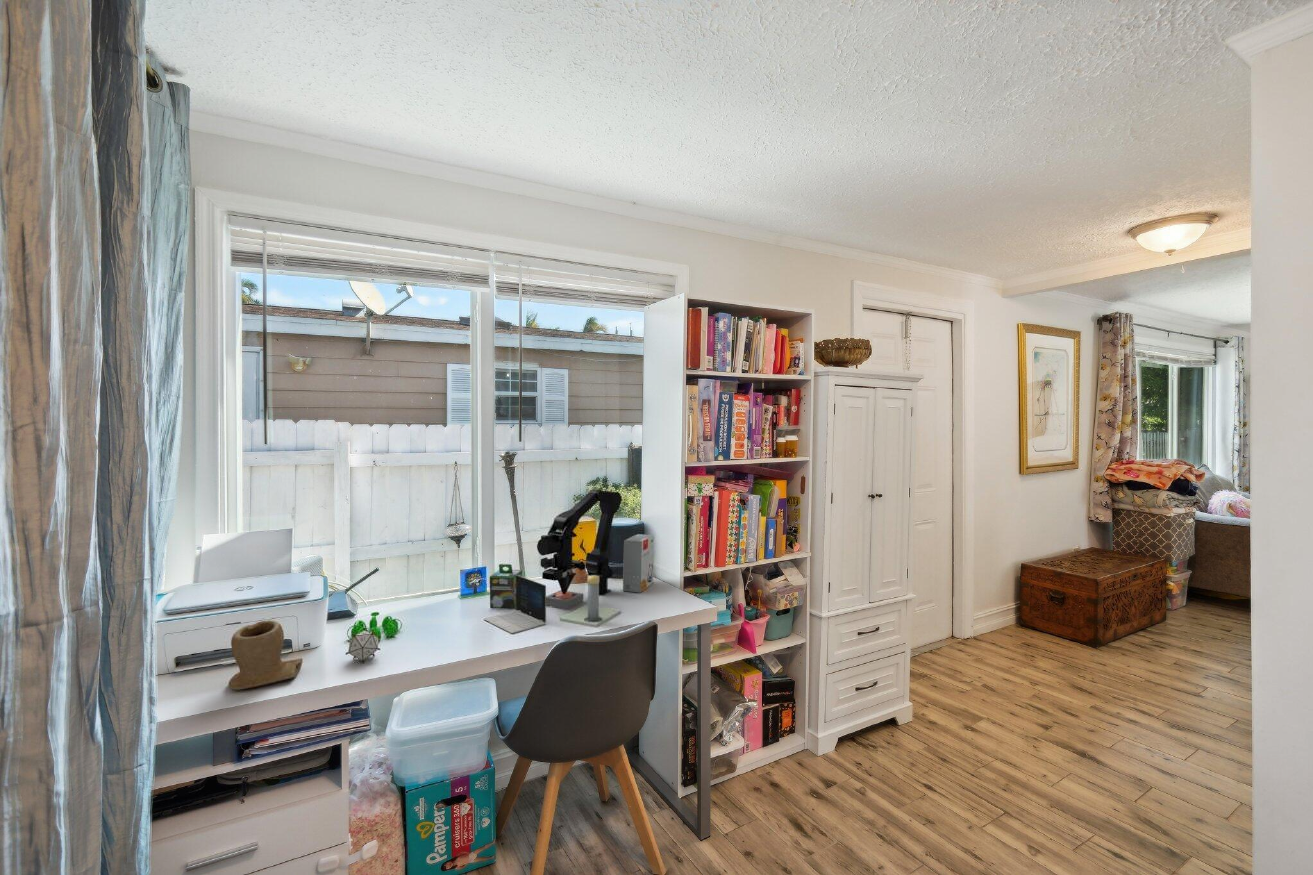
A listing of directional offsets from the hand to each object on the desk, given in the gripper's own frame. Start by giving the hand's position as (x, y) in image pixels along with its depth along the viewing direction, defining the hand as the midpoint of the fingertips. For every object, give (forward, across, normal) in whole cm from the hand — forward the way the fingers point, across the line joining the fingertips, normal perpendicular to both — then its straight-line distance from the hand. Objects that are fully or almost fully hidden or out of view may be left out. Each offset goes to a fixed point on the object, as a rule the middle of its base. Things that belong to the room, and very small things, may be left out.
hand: (564, 593), depth 203 cm
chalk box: (+4, +10, -18) cm, 21 cm away
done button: (+2, 0, 0) cm, 2 cm away
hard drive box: (+4, -31, +14) cm, 34 cm away
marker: (+3, +11, +20) cm, 23 cm away
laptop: (+4, +23, -3) cm, 24 cm away
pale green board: (+4, +7, +16) cm, 18 cm away
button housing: (+4, 0, 0) cm, 4 cm away
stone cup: (+4, +85, -29) cm, 90 cm away
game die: (+4, +65, -20) cm, 68 cm away
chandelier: (+4, +51, -33) cm, 61 cm away
